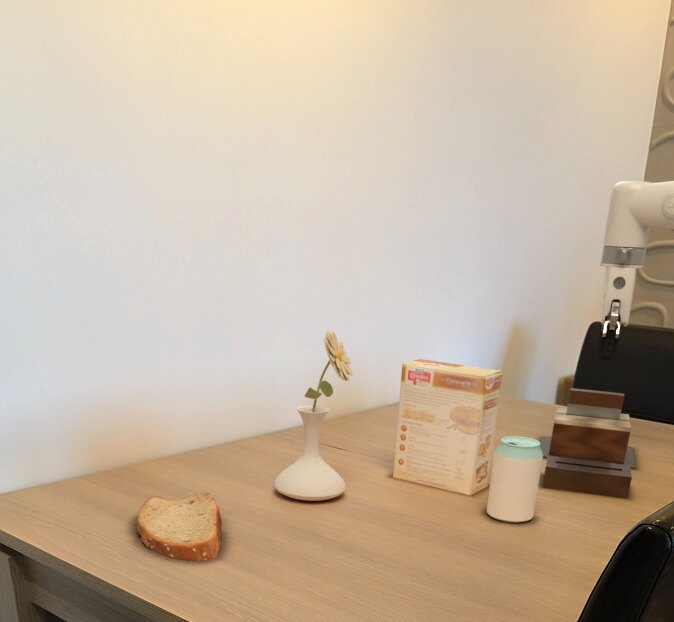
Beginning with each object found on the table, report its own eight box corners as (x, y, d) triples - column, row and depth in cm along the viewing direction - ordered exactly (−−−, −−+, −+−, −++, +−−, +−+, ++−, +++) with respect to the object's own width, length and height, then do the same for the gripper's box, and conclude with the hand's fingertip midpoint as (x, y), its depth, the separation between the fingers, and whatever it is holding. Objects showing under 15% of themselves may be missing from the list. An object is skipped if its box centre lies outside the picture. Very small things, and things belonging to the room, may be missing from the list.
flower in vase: (315, 512, 124) (322, 340, 114) (258, 494, 130) (261, 330, 120) (365, 493, 134) (376, 333, 123) (310, 477, 140) (317, 323, 129)
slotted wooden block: (625, 487, 144) (630, 465, 143) (627, 500, 138) (632, 477, 136) (544, 477, 148) (547, 455, 146) (541, 488, 141) (545, 466, 139)
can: (526, 528, 123) (539, 449, 118) (480, 519, 125) (491, 442, 120) (536, 515, 129) (549, 439, 123) (492, 506, 131) (503, 432, 126)
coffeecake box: (488, 487, 140) (504, 370, 132) (470, 497, 135) (485, 375, 126) (411, 469, 147) (421, 357, 139) (391, 478, 142) (400, 362, 134)
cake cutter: (612, 452, 163) (624, 393, 158) (612, 455, 161) (624, 395, 156) (560, 446, 166) (570, 388, 161) (560, 449, 164) (570, 390, 159)
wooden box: (631, 449, 169) (639, 413, 165) (634, 470, 155) (643, 431, 152) (541, 439, 173) (547, 403, 170) (537, 458, 159) (543, 420, 156)
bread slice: (199, 567, 104) (199, 540, 102) (92, 536, 111) (90, 510, 109) (277, 527, 118) (278, 502, 116) (177, 501, 125) (176, 478, 124)
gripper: (647, 261, 140) (628, 365, 147) (642, 257, 155) (625, 351, 162) (601, 259, 141) (584, 361, 149) (600, 255, 157) (585, 348, 164)
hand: (605, 356), depth 155 cm, fingers open, 9 cm apart
